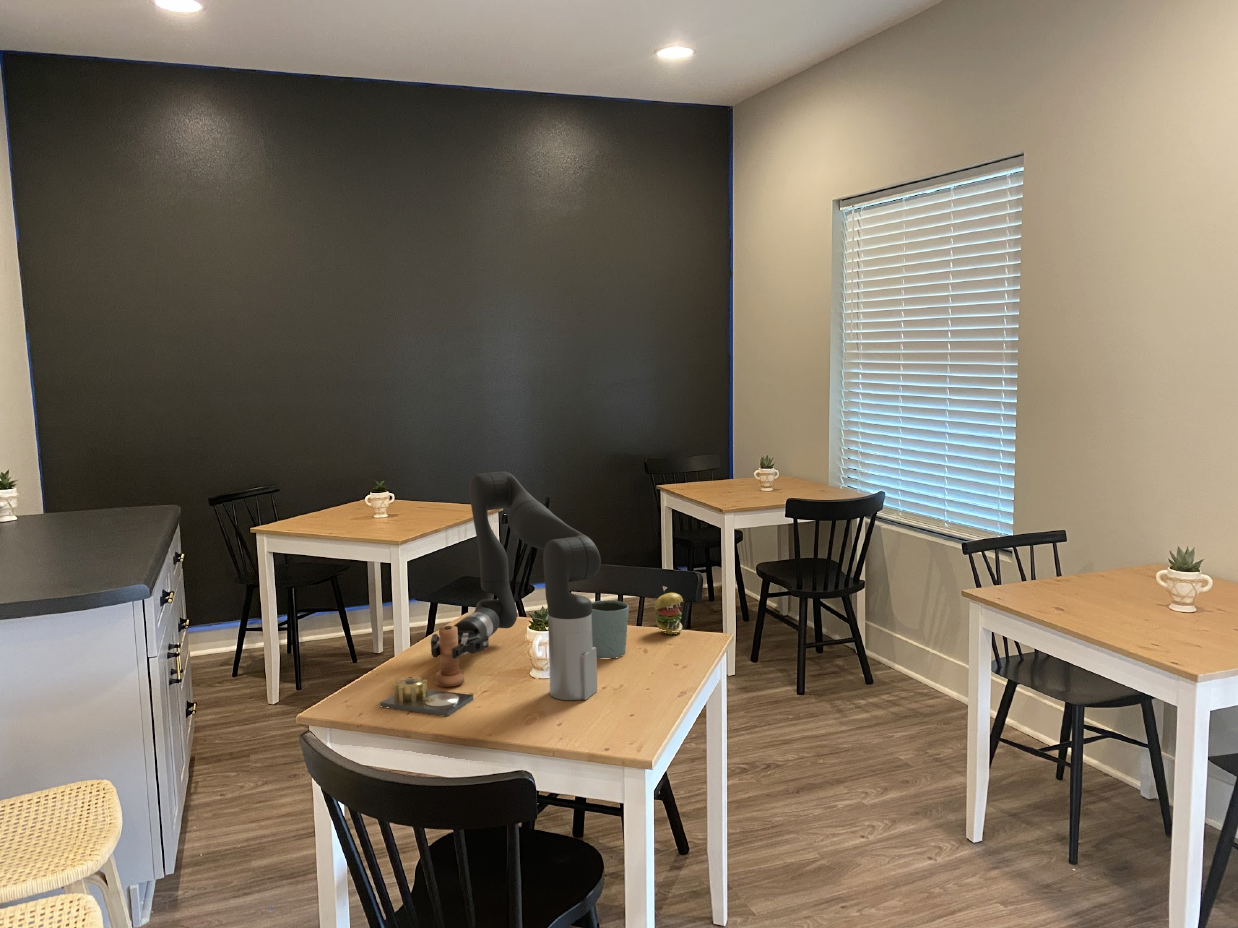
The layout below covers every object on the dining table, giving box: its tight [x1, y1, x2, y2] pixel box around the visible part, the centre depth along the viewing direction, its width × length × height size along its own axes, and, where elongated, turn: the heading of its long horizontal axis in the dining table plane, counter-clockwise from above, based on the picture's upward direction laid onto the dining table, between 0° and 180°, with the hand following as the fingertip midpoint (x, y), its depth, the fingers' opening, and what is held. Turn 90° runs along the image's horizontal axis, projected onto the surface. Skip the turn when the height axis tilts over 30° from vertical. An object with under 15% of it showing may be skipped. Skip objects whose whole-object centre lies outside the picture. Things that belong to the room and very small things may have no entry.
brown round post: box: [435, 625, 465, 688], centre depth 199 cm, size 6×6×12 cm
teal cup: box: [591, 600, 630, 659], centre depth 219 cm, size 10×10×12 cm
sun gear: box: [392, 676, 428, 702], centre depth 190 cm, size 7×7×3 cm
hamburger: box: [654, 585, 684, 635], centre depth 237 cm, size 8×7×12 cm
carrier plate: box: [379, 688, 474, 717], centre depth 188 cm, size 16×10×1 cm, turn 69°
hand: (444, 653), depth 197 cm, fingers closed on brown round post, 4 cm apart
